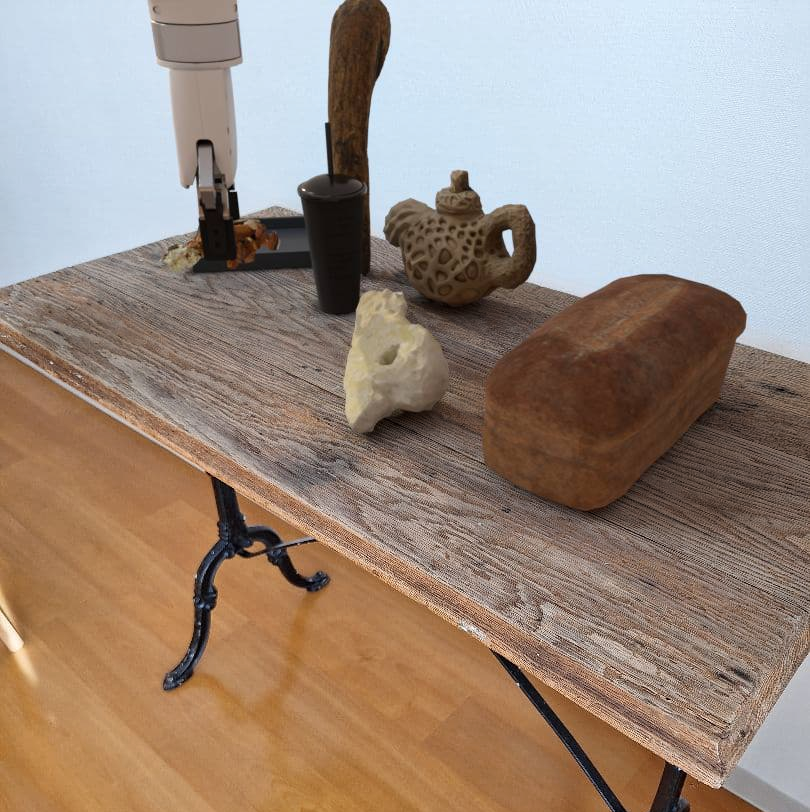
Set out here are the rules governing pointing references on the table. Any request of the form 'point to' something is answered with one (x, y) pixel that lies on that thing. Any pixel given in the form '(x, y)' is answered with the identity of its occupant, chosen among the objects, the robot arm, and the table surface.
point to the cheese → (390, 363)
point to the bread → (608, 387)
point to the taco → (247, 244)
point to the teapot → (461, 244)
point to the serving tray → (286, 256)
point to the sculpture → (356, 91)
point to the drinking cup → (334, 234)
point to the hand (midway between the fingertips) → (223, 243)
